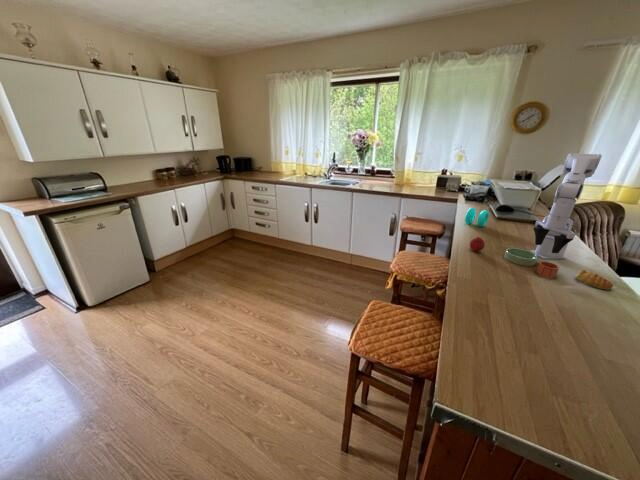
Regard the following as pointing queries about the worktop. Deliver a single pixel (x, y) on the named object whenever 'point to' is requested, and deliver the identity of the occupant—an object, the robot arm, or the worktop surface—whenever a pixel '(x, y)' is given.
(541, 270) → the small bowl
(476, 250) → the onion
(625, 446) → the worktop surface
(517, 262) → the big bowl
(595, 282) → the pastry
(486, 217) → the pair of cyan ovals
